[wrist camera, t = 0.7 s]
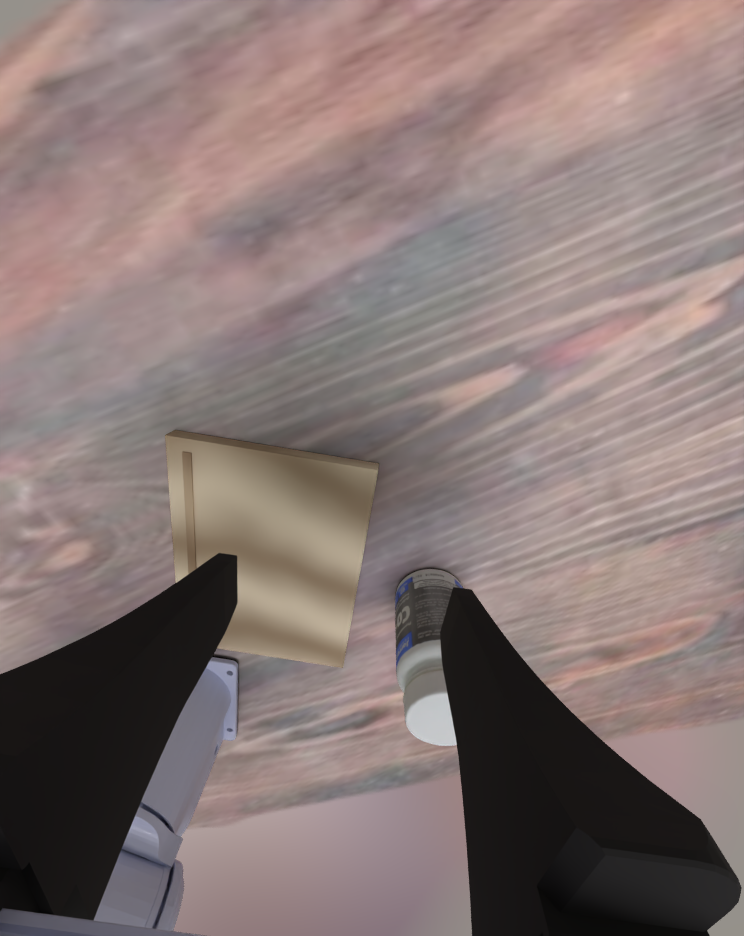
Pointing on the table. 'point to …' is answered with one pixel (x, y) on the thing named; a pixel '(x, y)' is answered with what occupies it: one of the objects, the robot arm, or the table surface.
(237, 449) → the beech board
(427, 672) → the pill bottle
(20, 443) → the table surface
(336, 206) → the table surface
